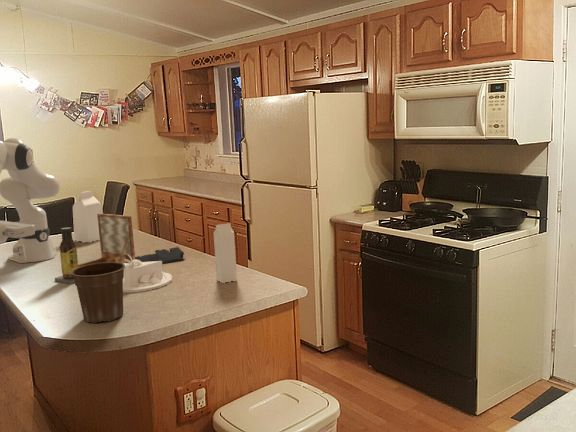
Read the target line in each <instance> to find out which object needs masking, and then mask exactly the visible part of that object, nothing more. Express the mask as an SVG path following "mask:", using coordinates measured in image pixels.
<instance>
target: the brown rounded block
mask: <svg viewBox="0 0 576 432" xmlns="http://www.w3.org/2000/svg"><path fill="white" fill-rule="evenodd" d="M119 259H120V256H118V257H115V262H117V263H122V264H123V263H126V261H125V259H126V256H123V257H122V260H121V262H119Z"/></svg>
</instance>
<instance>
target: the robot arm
mask: <svg viewBox="0 0 576 432" xmlns="http://www.w3.org/2000/svg"><path fill="white" fill-rule="evenodd" d="M3 170H7V174H9V176H10V177H5V178H2V180H1V181H0V196H1V198H3V199H4V200H6V201H7V202H9V203H10V204H11V205H12V206H13V207H14V208H15V210H16V211H17V214H18V216H19V221H7V220H0V245H2V244H5V243H6V242H7V240H8V238H13V239H17V241H16V243H15V244H13V246H12V255H9V256H8V257H7V259H8V260H9V261H13V262H16V263H18V264H25V263H34V262H37V263H38V262H43V261H49V260H50V259H54V258H55V257H56V255H57V251H55V248H54V244H53V238H52V237H50V235H51V234H50V228H49V227H48V218H47V212H46V211H45V210H44V208H42V207H39V206H36V205H35V204H33V202H32V200H43V199H46V200H47V199H50V198H54V197H56V196H57V195H58V194H59V191H60V189H61V186H60V182H59V180H58V178H57V177H56V176H55V175H51V174H49V173H46V172H45V171H43V170H41V169H40V168H38V167H37V166H36V164H35V162H34V155H33V150H32V148H31V147H29V146H28V145H27V144H25V143H24V142H23V141H22V140H21V139H20V138H16V137H10V138H6V139H5V140H4V141H2V140H0V174H1V173H2V172H3ZM18 238H19V239H18Z"/></svg>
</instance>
